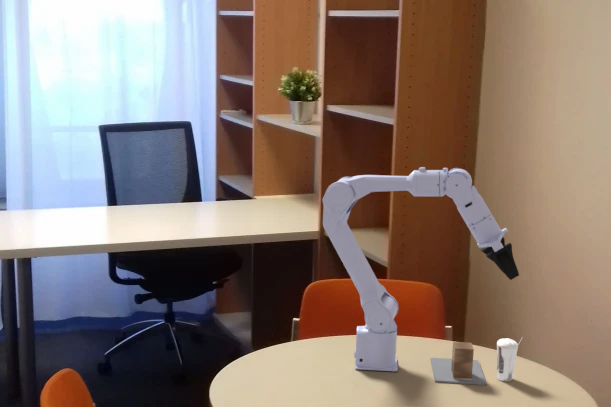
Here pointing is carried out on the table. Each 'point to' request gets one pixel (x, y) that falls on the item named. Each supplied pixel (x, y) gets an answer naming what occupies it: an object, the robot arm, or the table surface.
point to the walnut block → (462, 360)
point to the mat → (445, 375)
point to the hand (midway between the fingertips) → (511, 274)
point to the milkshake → (506, 358)
